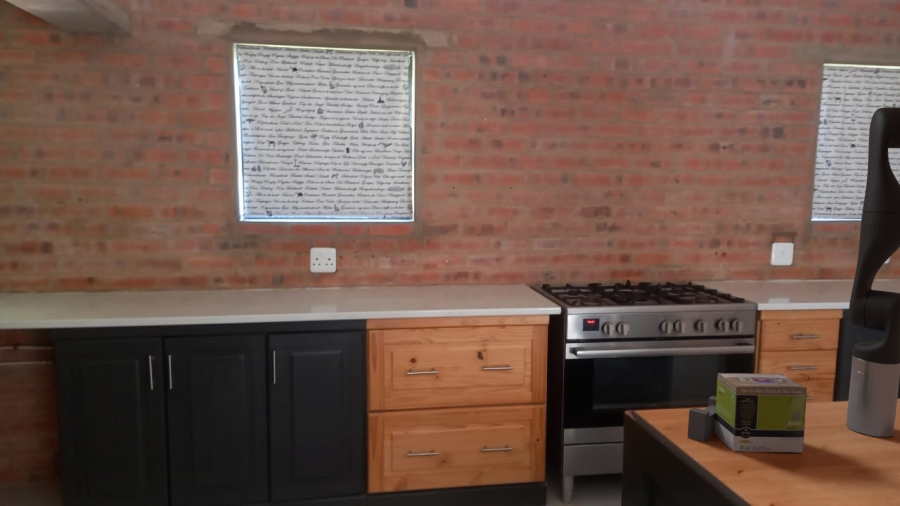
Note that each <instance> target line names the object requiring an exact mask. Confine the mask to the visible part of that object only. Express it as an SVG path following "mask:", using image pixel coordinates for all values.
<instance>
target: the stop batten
mask: <svg viewBox="0 0 900 506" xmlns="http://www.w3.org/2000/svg"><path fill="white" fill-rule="evenodd" d="M707 403H708V404H707V407H706V408H705V409H701V408H697V407H695V406H694V407H691V408H689V412H688V421H687V422H688V424H687V438H689V439H692V440H696V441H698V442H701V443H704V442H706V441H708V439H709V438H710V437H712V436H713V435H714V434H715V412H716V395H715V396H714V395H711V396H710V397H708V398H707Z"/></svg>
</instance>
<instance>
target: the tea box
mask: <svg viewBox="0 0 900 506" xmlns="http://www.w3.org/2000/svg"><path fill="white" fill-rule="evenodd" d="M716 379H717V380H716V395H715V397H716V412H715V433H714V434H715V436H717V437H718V438H719V439H720V441H722V442H723V443H724V444H725V445H726V446H727V447H728V448H729V449H730V450H731V451H733V452H752V453H753V452H755V453H757V452H758V453H759V452H760V453H761V452H762V453H798V454H799V453H800V454H802V453H804V443H805V427H806V409H807V408H806V407H807V391H808V390H807V388H808V387H806V386H804V385H803V384H801V383H799V382H797V381H795V380H794V379H791V378H789V377H788V376H786V375H784V374H783V373H748V372H747V373H746V372H745V373H737V372H734V373H731V372H730V373H729V372H727V373H725V372H718V373H717V378H716Z"/></svg>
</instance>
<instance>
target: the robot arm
mask: <svg viewBox="0 0 900 506" xmlns="http://www.w3.org/2000/svg"><path fill="white" fill-rule="evenodd" d="M889 149H900V106H899V107H898V106H896V107H892V106H891V107H890V106H889V107H888V106H887V107H880V108H878V109H876V110H875V111H874V113H873V114H872V117H871V120H870V123H869V131H868V150H867V151H868V154H867V157H868V158H867V174H866V185H865V193H864V199H863V205H862V206H863V207H862V210H861V212H862V213H861V220H860V231H859V233H860V234H859V245H858V255H857V263H856V269H855V273H854V278H853V284H852V289H851V294H850V300H849V304H848V305H849V307H848V320H849V322H850V324H851V325H852V326H854V327H857V328H863V329H867V330H874V331H879V332H885V333H884V337H882V338H878V339H877V340H870V341H869V340H867V341H861V342H857V343H855V344H854V346H853V348H852V349H853V350H852V357H851V358H852V359H851V368H850V370H851V371H850V379H849V392H848V401H847V411H846V422H845V423H846V427H847V428H848V429H851V430H852V431H854V432H857V433H860V434H863V435H867V436H871V437H872V436H873V437H879V438H890V437H892V436H894V433H895V423H896V416H897V404H898V396H899V387H900V386H899V385H900V292H896V291H895V292H894V291H886V290H878V289H872V287H873V282H874V281H875V278H876V276H877V274H878V272H879V270H881V268H882V266H883V265H884V264H885V263H886V262H887V261H888V260H889V259H890V258H891V257H892V256H893V255H894V254H895V253H896V252H897V251H898V250H899V249H900V182H899V181H898V179H897V178H896V175H895V174H894V172H893V169H892V167H891V164H890V157H889Z"/></svg>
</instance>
